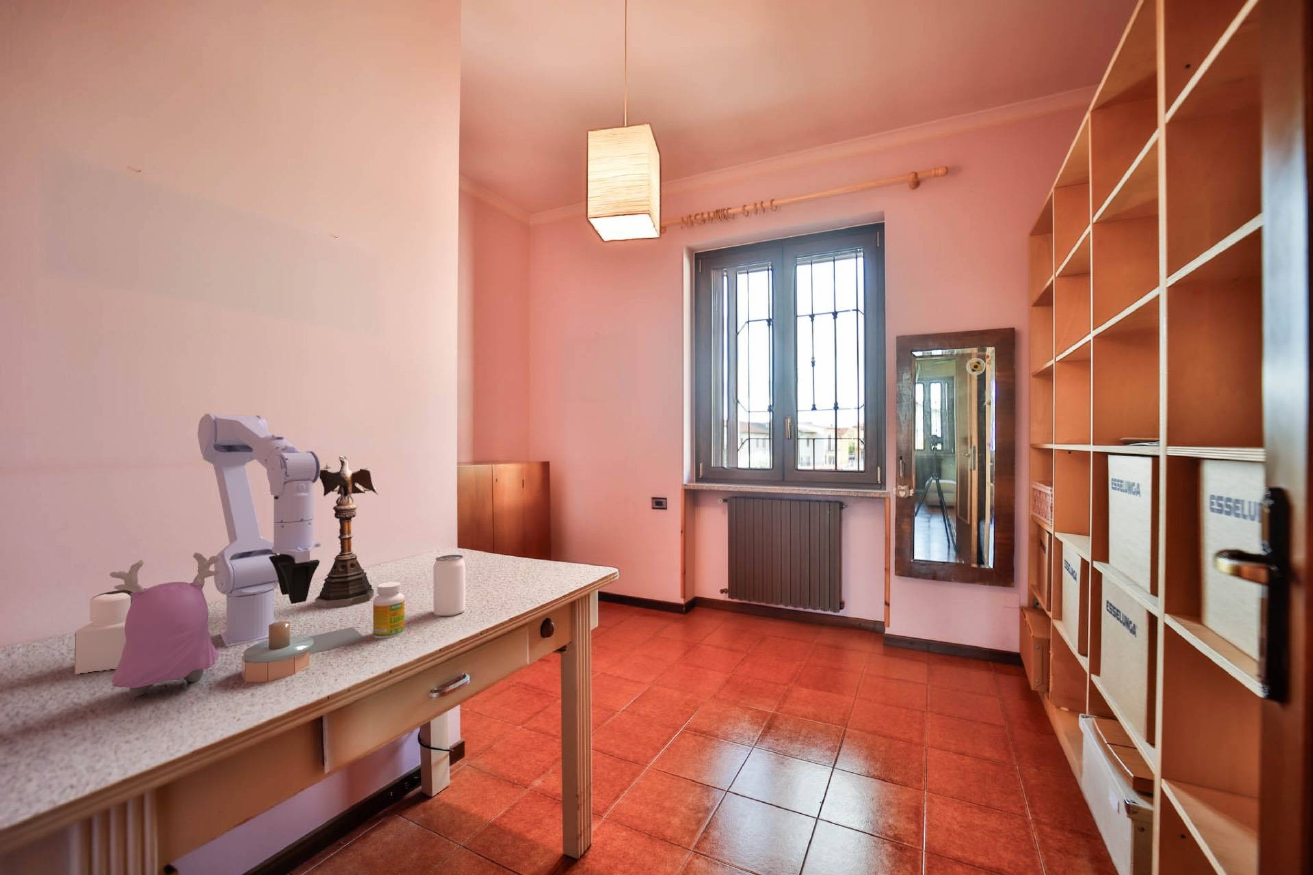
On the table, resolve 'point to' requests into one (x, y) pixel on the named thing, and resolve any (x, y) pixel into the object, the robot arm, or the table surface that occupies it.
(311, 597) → the table surface
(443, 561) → the can
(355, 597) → the bird statue
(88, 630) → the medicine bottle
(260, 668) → the bowl
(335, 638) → the mat
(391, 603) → the supplement bottle
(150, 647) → the toy character
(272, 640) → the lid
